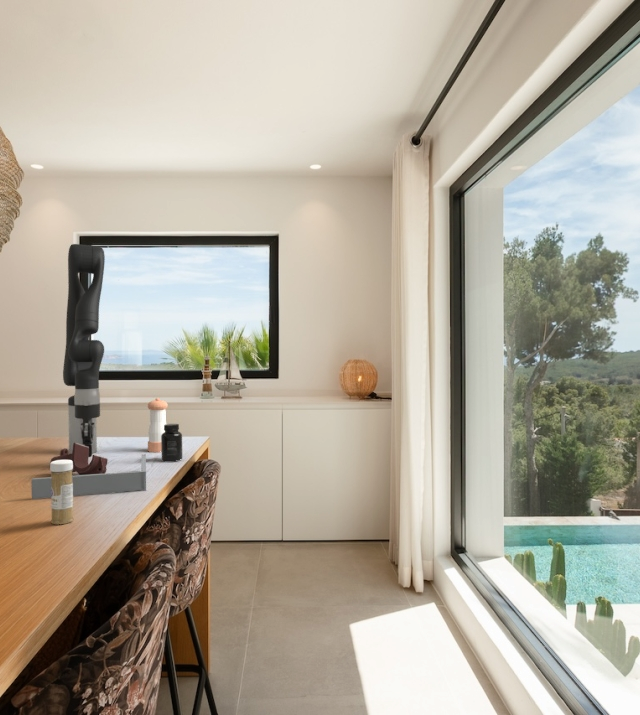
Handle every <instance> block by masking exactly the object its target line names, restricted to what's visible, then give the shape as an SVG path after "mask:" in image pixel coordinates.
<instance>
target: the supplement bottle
mask: <svg viewBox="0 0 640 715" xmlns="http://www.w3.org/2000/svg"><path fill="white" fill-rule="evenodd" d="M179 425H180V423H166V424H165V425H164V430H165V432H164V433H163V434H162V435H161V452H160V453H161V461H162V460H163V462H165V461H174V462H177V461H176V460H180V459H182V460H183V434H182V433H181V432H180V431H179V430H180V426H179ZM180 461H181V460H180Z"/></svg>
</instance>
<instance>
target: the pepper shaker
mask: <svg viewBox="0 0 640 715" xmlns="http://www.w3.org/2000/svg"><path fill="white" fill-rule="evenodd" d="M168 407H169V405H168V403H167V401H165V400H162V399H160V397H158V398H157V397H156V398H155V400H151V401H149V402H148V404H147V408H148V410H149V413H150V414H149V425H148V426H149V428H148V441H147V452H148V451H149V452H148V453H161V452H160V451H161V435H162V434H163V433H164V432H165V430H164V425H165V424H167V419H166V418H167V417H166V416H167V414H166V410H167V409H168Z"/></svg>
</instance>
